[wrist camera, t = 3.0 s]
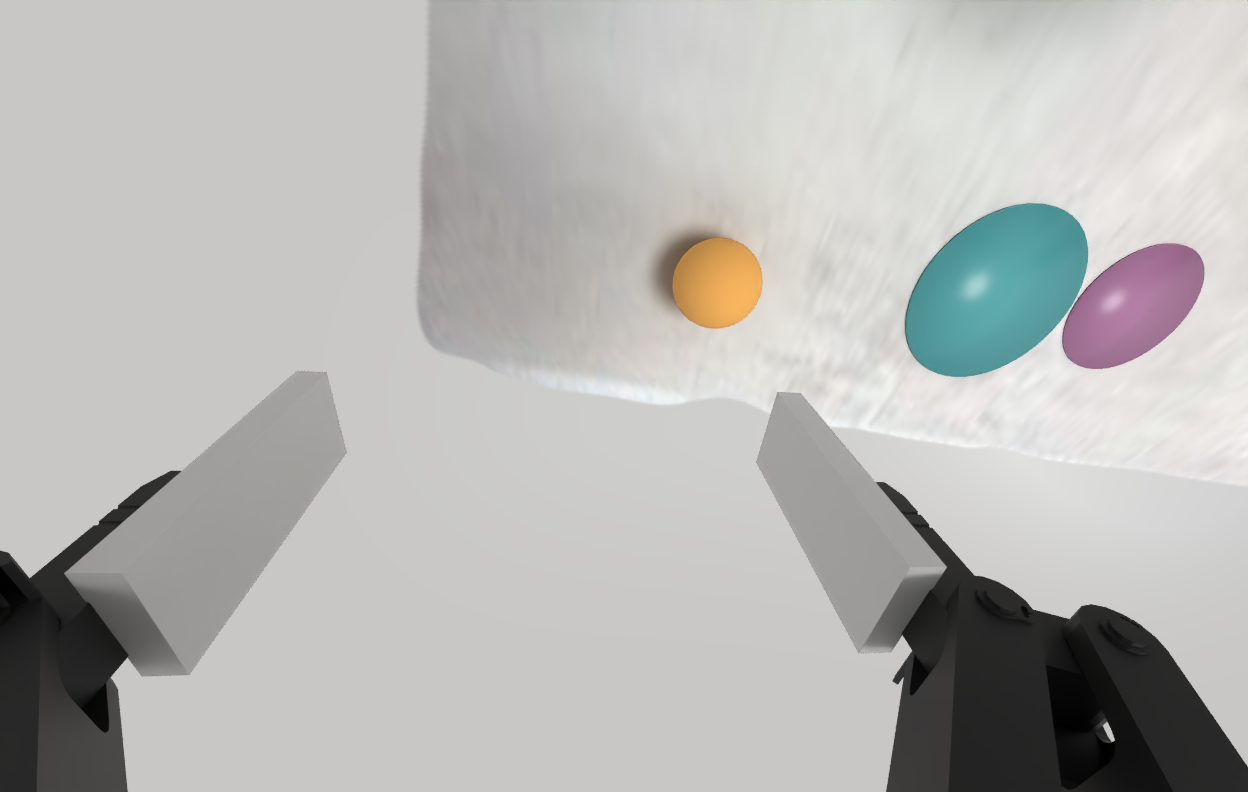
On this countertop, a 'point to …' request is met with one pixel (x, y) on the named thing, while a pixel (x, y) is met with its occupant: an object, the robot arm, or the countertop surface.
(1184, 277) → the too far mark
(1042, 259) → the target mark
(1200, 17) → the countertop surface
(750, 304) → the ball
